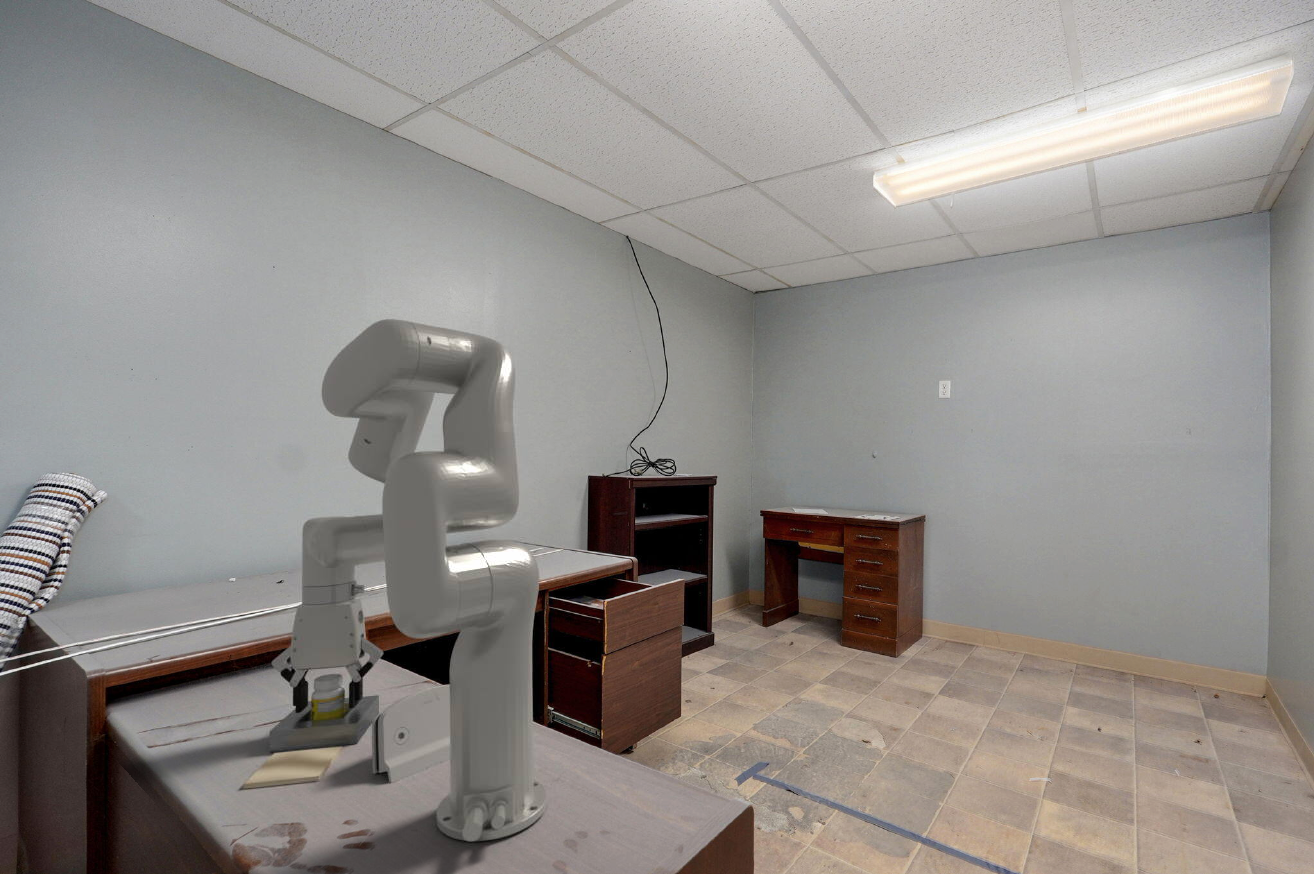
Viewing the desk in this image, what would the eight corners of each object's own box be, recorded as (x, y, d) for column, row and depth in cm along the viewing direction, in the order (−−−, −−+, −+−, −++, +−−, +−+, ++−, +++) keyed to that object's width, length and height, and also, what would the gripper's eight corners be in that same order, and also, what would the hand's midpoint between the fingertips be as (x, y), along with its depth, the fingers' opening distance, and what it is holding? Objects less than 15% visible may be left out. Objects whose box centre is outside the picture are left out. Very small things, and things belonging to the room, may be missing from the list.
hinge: (388, 784, 79) (376, 704, 81) (372, 786, 81) (361, 708, 84) (497, 739, 91) (483, 671, 94) (480, 742, 94) (467, 676, 97)
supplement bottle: (315, 728, 98) (315, 674, 98) (347, 723, 99) (347, 671, 100) (307, 740, 93) (307, 684, 94) (341, 735, 94) (341, 680, 95)
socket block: (356, 743, 91) (356, 723, 91) (269, 752, 89) (269, 731, 89) (378, 713, 103) (379, 695, 103) (302, 720, 101) (302, 701, 101)
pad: (318, 780, 80) (318, 776, 80) (243, 788, 79) (243, 784, 79) (341, 750, 89) (341, 746, 89) (274, 757, 87) (274, 753, 87)
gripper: (392, 586, 103) (392, 694, 101) (279, 593, 100) (278, 704, 98) (380, 595, 95) (380, 711, 94) (258, 602, 92) (256, 722, 91)
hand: (328, 706), depth 96 cm, fingers open, 7 cm apart
